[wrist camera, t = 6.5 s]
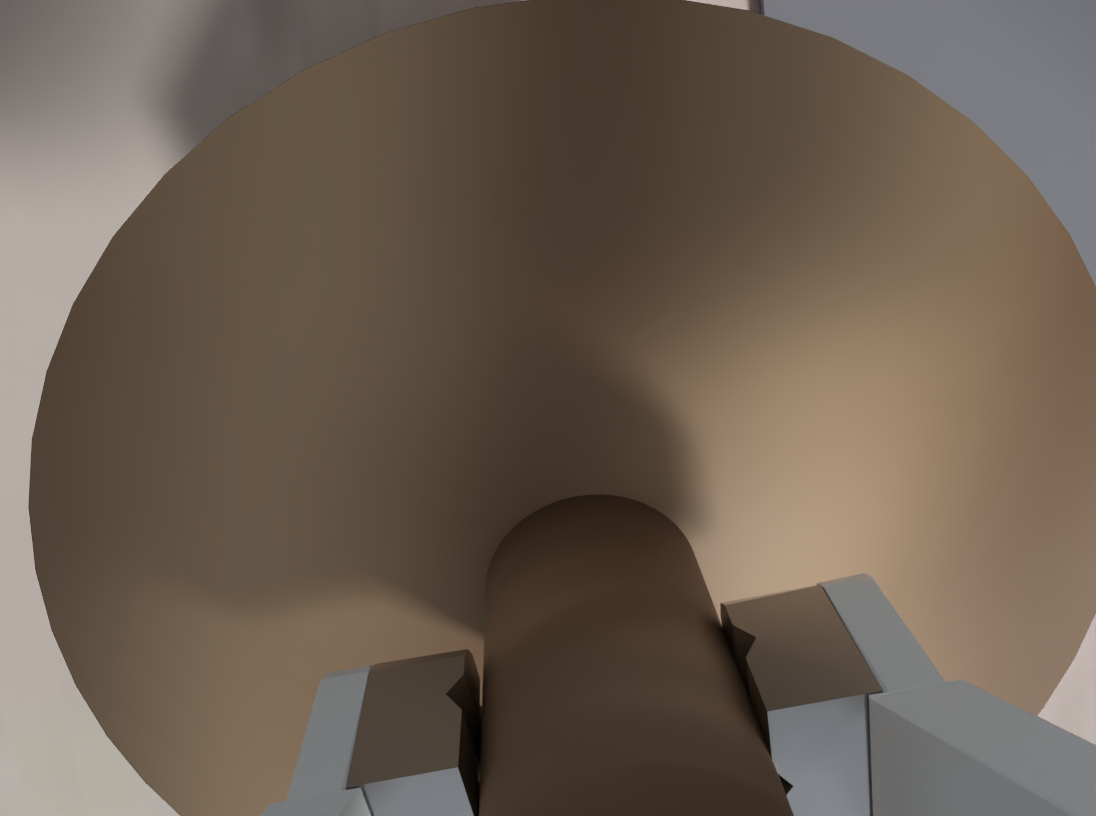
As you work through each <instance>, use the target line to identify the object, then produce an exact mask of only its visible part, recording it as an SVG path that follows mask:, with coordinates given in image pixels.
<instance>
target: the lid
mask: <svg viewBox="0 0 1096 816" xmlns="http://www.w3.org/2000/svg"><path fill="white" fill-rule="evenodd" d="M29 515H30V524H31V533H32V542H33V551H34V560H35V570H36V574H37V578H38V581H39V585H40V589H41V592H42V596H43V600H44V603H45V607H46V611H47V614H48V618H49V622H50V626H51V629H52V632H53V634H54V637H55V639H56V641H57V643H58V646H59V648H60V650H61V653H62V655H63V657H64V659H65V662H66V664H67V666H68V669H69V671H70V673H71V675H72V678H73V680H74V682H75V685H76V687H77V688H78V690H79V691H80V693H81V695H82V696H83V698H84V700H85V701H86V703H87V704H88V706H89V708H90V709H91V711H92V712H93V714H94V716H95V717H96V719H97V721H98V722H99V724H100V725H101V727H102V729H103V730H104V732H105V733H106V735H107V737H108V738H109V739H110V740H111V742H112V743H113V744H114V745H115V746H116V748H117V749H118V750H119V751H120V752H121V754H122V755H123V756H124V757H125V759H126V760H127V761H128V762H129V763H130V765H131V766H132V767H133V768H134V770H135V771H136V772H137V773H138V774H139V776H140V777H141V778H142V779H143V781H144V782H145V783H146V784H147V785H149V786H150V787H151V788H152V789H153V790H154V791H155V792H156V793H157V794H158V795H159V796H160V797H161V798H162V799H163V800H164V801H165V802H166V803H168V804H169V805H170V806H171V807H172V808H173V809H174V810H175V811H176V812H177V813H178V814H179V815H180V816H260V815H261V814H262V813H263V812H264V810H265V809H266V808H267V807H268V806H269V805H270V804H272V803H277V802H283V801H286V799H287V795H288V792H289V788H290V785H291V781H292V777H293V774H294V770H295V767H296V763H297V760H298V756H299V753H300V749H301V745H302V742H303V738H304V735H305V731H306V728H307V724H308V721H309V717H310V713H311V710H312V706H313V703H314V699H315V696H316V692H317V689H318V685H319V683H320V681H321V680H322V678H323V677H324V676H325V675H326V674H327V673H328V672H334V671H339V670H345V669H351V668H357V667H363V666H369V665H371V666H374V665H375V664H378V663H384V662H390V661H396V660H403V659H409V658H415V657H421V656H427V655H434V654H440V653H446V652H452V651H458V650H465V649H468V650H469V651H470V652H471V653H472V654H473V658H474V661H475V664H476V667H477V670H478V674H479V677H480V705H481V706H482V726H481V760H480V794H479V816H794V814H793V812H792V809H791V807H790V804H789V801H788V799H787V796H786V793H785V791H784V788H783V785H782V783H781V780H780V778H779V775H778V772H777V770H776V767H775V765H774V762H773V760H772V759H771V756H770V753H769V751H768V748H767V745H766V743H765V740H764V738H763V735H762V732H761V730H760V727H759V725H758V722H757V719H756V717H755V714H754V711H753V709H752V706H751V704H750V699H749V696H748V693H747V691H746V688H745V686H744V683H743V681H742V678H741V675H740V673H739V671H738V669H737V667H736V664H735V661H734V659H733V656H732V653H731V651H730V648H729V645H728V643H727V640H726V637H725V635H724V632H723V629H722V624H721V615H720V603H723V602H728V601H733V600H738V599H744V598H749V597H754V596H759V595H765V594H770V593H775V592H781V591H786V590H791V589H796V588H802V587H807V586H812V585H816V584H817V583H820V582H825V581H829V580H834V579H839V578H844V577H848V576H853V575H858V574H863V573H866V574H867V575H869V576H871V577H873V578H874V580H875V581H876V582H877V584H878V585H879V587H880V588H881V590H882V591H883V593H884V594H885V595H886V597H887V598H888V600H889V601H890V603H891V604H892V605H893V607H894V608H895V610H896V611H897V613H898V614H899V615H900V617H901V618H902V620H903V621H904V623H905V624H906V625H907V627H908V628H909V630H910V631H911V633H912V634H913V635H914V637H915V638H916V640H917V641H918V643H919V644H920V645H921V647H922V648H923V650H924V651H925V653H926V654H927V656H928V657H929V658H930V660H931V661H932V663H933V664H934V666H935V667H936V668H937V670H938V671H939V673H940V674H941V676H942V677H943V678H944V680H945V681H946V682H947V681H953V680H959V679H962V680H964V681H966V682H968V683H970V684H973V685H975V686H977V687H979V688H981V689H983V690H985V691H987V692H989V693H991V694H993V695H995V696H997V697H999V698H1001V699H1003V700H1005V701H1007V702H1009V703H1011V704H1013V705H1015V706H1017V707H1019V708H1021V709H1023V710H1026V711H1028V712H1030V713H1032V714H1034V715H1036V716H1037V715H1038V714H1039V713H1040V711H1041V710H1042V709H1043V707H1044V706H1045V704H1046V703H1047V701H1048V700H1049V698H1050V696H1051V695H1052V693H1053V692H1054V690H1055V688H1056V687H1057V685H1058V684H1059V682H1060V681H1061V679H1062V677H1063V676H1064V674H1065V673H1066V671H1067V669H1068V668H1069V666H1070V665H1071V663H1072V661H1073V660H1074V658H1075V656H1076V654H1077V652H1078V650H1079V648H1080V645H1081V643H1082V641H1083V639H1084V637H1085V635H1086V633H1087V631H1088V628H1089V626H1090V624H1091V622H1092V620H1093V618H1094V616H1095V614H1096V286H1095V284H1094V282H1093V280H1092V278H1091V276H1090V274H1089V272H1088V270H1087V268H1086V266H1085V264H1084V262H1083V260H1082V258H1081V256H1080V254H1079V251H1078V249H1077V247H1076V245H1075V243H1074V241H1073V239H1072V237H1071V235H1070V234H1069V232H1068V231H1067V230H1066V228H1065V227H1064V226H1063V224H1062V223H1061V221H1060V220H1059V219H1058V217H1057V216H1056V214H1055V213H1054V212H1053V210H1052V209H1051V207H1050V206H1049V205H1048V203H1047V202H1046V200H1045V199H1044V198H1043V196H1042V195H1041V194H1040V192H1039V191H1038V189H1037V188H1036V187H1035V185H1034V184H1033V182H1032V181H1031V180H1030V178H1029V177H1028V176H1027V175H1026V174H1025V173H1024V172H1023V171H1022V170H1021V169H1020V168H1019V167H1018V166H1017V165H1016V164H1015V163H1014V162H1013V161H1012V160H1011V159H1010V158H1009V157H1008V156H1007V155H1006V154H1005V153H1004V152H1003V151H1002V150H1001V149H1000V148H999V147H998V146H997V145H996V144H995V143H994V142H993V141H992V140H991V139H990V138H989V137H988V136H987V135H986V134H985V133H984V132H983V131H982V130H981V129H980V128H979V127H978V126H977V125H976V124H975V123H974V122H973V121H972V120H970V119H969V118H967V117H966V116H965V115H963V114H962V113H960V112H959V111H958V110H956V109H955V108H953V107H952V106H951V105H949V104H948V103H946V102H945V101H944V100H942V99H941V98H939V97H938V96H937V95H935V94H934V93H932V92H931V91H930V90H928V89H927V88H925V87H924V86H923V85H921V84H920V83H918V82H917V81H916V80H914V79H913V78H911V77H910V76H909V75H907V74H905V73H903V72H901V71H899V70H897V69H895V68H893V67H891V66H889V65H887V64H885V63H883V62H881V61H879V60H877V59H875V58H873V57H871V56H869V55H867V54H865V53H863V52H861V51H859V50H857V49H855V48H853V47H851V46H849V45H847V44H845V43H843V42H841V41H839V40H837V39H835V38H833V37H830V36H827V35H824V34H820V33H817V32H814V31H811V30H808V29H805V28H802V27H799V26H795V25H792V24H789V23H786V22H783V21H780V20H777V19H774V18H770V17H767V16H764V15H761V14H758V13H755V12H752V11H748V10H742V9H736V8H729V7H723V6H717V5H711V4H705V3H698V2H692V1H686V0H527V1H520V2H512V3H505V4H497V5H490V6H482V7H475V8H471V9H468V10H464V11H461V12H457V13H454V14H450V15H447V16H443V17H440V18H436V19H433V20H429V21H426V22H422V23H419V24H415V25H412V26H408V27H405V28H401V29H398V30H394V31H391V32H387V33H385V34H382V35H380V36H378V37H376V38H373V39H371V40H369V41H367V42H365V43H362V44H360V45H358V46H356V47H354V48H351V49H349V50H347V51H345V52H342V53H340V54H338V55H336V56H334V57H331V58H329V59H327V60H325V61H323V62H320V63H318V64H316V65H314V66H311V67H309V68H307V69H305V70H303V71H301V72H300V73H298V74H296V75H295V76H293V77H292V78H290V79H289V80H287V81H286V82H284V83H282V84H281V85H279V86H278V87H276V88H275V89H273V90H272V91H270V92H268V93H267V94H265V95H264V96H262V97H261V98H259V99H258V100H256V101H254V102H253V103H251V104H250V105H248V106H247V107H245V108H244V109H242V110H241V111H239V112H237V113H236V114H234V115H233V116H231V117H230V118H228V119H227V120H226V121H225V122H224V123H223V124H221V125H220V126H219V127H218V128H217V129H216V130H215V131H213V132H212V133H211V134H210V135H209V136H208V137H207V138H206V139H204V140H203V141H202V142H201V143H200V144H199V145H198V146H196V147H195V148H194V149H193V150H192V151H191V152H190V153H189V154H187V155H186V156H185V157H184V158H183V159H182V160H181V161H179V162H178V163H177V164H176V165H175V166H174V167H173V168H172V169H170V170H169V171H168V172H167V173H166V174H165V175H164V176H163V177H162V178H161V180H160V181H159V182H158V183H157V184H156V186H155V187H154V188H153V189H152V190H151V192H150V193H149V194H148V195H147V196H146V198H145V199H144V200H143V201H142V202H141V204H140V205H139V206H138V207H137V208H136V210H135V211H134V212H133V213H132V214H131V216H130V217H129V218H128V219H127V221H126V222H125V223H124V224H123V225H122V227H121V228H120V229H119V230H118V231H117V233H116V234H115V235H114V236H113V238H112V239H111V241H110V243H109V244H108V246H107V248H106V249H105V251H104V253H103V254H102V256H101V258H100V259H99V261H98V263H97V265H96V266H95V268H94V270H93V271H92V273H91V275H90V276H89V278H88V280H87V281H86V283H85V285H84V286H83V288H82V290H81V291H80V293H79V295H78V297H77V298H76V300H75V302H74V303H73V306H72V308H71V311H70V313H69V316H68V319H67V321H66V324H65V326H64V329H63V331H62V334H61V336H60V339H59V341H58V344H57V347H56V349H55V352H54V354H53V357H52V359H51V362H50V364H49V367H48V369H47V372H46V377H45V382H44V386H43V391H42V395H41V400H40V405H39V409H38V414H37V419H36V423H35V428H34V433H33V437H32V449H31V469H30V489H29Z"/></svg>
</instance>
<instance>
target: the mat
mask: <svg viewBox="0 0 1096 816" xmlns="http://www.w3.org/2000/svg"><path fill="white" fill-rule="evenodd" d="M760 5H761V15H764V16H767V17H770V18H774V19H777V20H780V21H783V22H786V23H789V24H792V25H795V26H799V27H802V28H805V29H808V30H811V31H814V32H817V33H820V34H824V35H827V36H830V37H833V38H835V39H837V40H839V41H841V42H843V43H845V44H847V45H849V46H851V47H853V48H855V49H857V50H859V51H861V52H863V53H865V54H867V55H869V56H871V57H873V58H875V59H877V60H879V61H881V62H883V63H885V64H887V65H889V66H891V67H893V68H895V69H897V70H899V71H901V72H903V73H905V74H907V75H909V76H910V77H911V78H913V79H914V80H916V81H917V82H918V83H920V84H921V85H923V86H924V87H925V88H927V89H928V90H930V91H931V92H932V93H934V94H935V95H937V96H938V97H939V98H941V99H942V100H944V101H945V102H946V103H948V104H949V105H951V106H952V107H953V108H955V109H956V110H958V111H959V112H960V113H962V114H963V115H965V116H966V117H967V118H969V119H970V120H972V121H973V122H974V123H975V124H976V125H977V126H978V127H979V128H980V129H981V130H982V131H983V132H984V133H985V134H986V135H987V136H988V137H989V138H990V139H991V140H992V141H993V142H994V143H995V144H996V145H997V146H998V147H999V148H1000V149H1001V150H1002V151H1003V152H1004V153H1005V154H1006V155H1007V156H1008V157H1009V158H1010V159H1011V160H1012V161H1013V162H1014V163H1015V164H1016V165H1017V166H1018V167H1019V168H1020V169H1021V170H1022V171H1023V172H1024V173H1025V174H1026V175H1027V176H1028V177H1029V178H1030V180H1031V181H1032V182H1033V184H1034V185H1035V187H1036V188H1037V189H1038V191H1039V192H1040V194H1041V195H1042V196H1043V198H1044V199H1045V200H1046V202H1047V203H1048V205H1049V206H1050V207H1051V209H1052V210H1053V212H1054V213H1055V214H1056V216H1057V217H1058V219H1059V220H1060V221H1061V223H1062V224H1063V226H1064V227H1065V228H1066V230H1067V231H1068V232H1069V234H1070V235H1071V237H1072V239H1073V241H1074V243H1075V245H1076V247H1077V249H1078V251H1079V254H1080V256H1081V258H1082V260H1083V262H1084V264H1085V266H1086V268H1087V270H1088V272H1089V274H1090V276H1091V278H1092V280H1093V282H1094V284H1095V286H1096V0H760Z"/></svg>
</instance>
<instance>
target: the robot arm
mask: <svg viewBox="0 0 1096 816" xmlns="http://www.w3.org/2000/svg"><path fill="white" fill-rule="evenodd" d="M720 615H721V624H722V629H723V632H724V635H725V637H726V640H727V643H728V645H729V648H730V651H731V653H732V656H733V659H734V661H735V664H736V667H737V669H738V671H739V673H740V675H741V678H742V681H743V683H744V686H745V688H746V691H747V693H748V696H749V699H750V704H751V706H752V709H753V711H754V714H755V717H756V719H757V722H758V725H759V727H760V730H761V732H762V735H763V738H764V740H765V743H766V745H767V748H768V751H769V753H770V756H771V759H772V760H773V762H774V765H775V767H776V770H777V772H778V775H779V778H780V780H781V783H782V785H783V788H784V791H785V793H786V796H787V799H788V801H789V804H790V807H791V809H792V812H793V814H794V816H1096V745H1095V744H1093V743H1091V742H1089V741H1087V740H1085V739H1083V738H1081V737H1079V736H1076V735H1074V734H1072V733H1070V732H1068V731H1066V730H1064V729H1062V728H1060V727H1058V726H1056V725H1054V724H1052V723H1050V722H1048V721H1046V720H1044V719H1042V718H1040V717H1038V716H1036V715H1034V714H1032V713H1030V712H1028V711H1026V710H1023V709H1021V708H1019V707H1017V706H1015V705H1013V704H1011V703H1009V702H1007V701H1005V700H1003V699H1001V698H999V697H997V696H995V695H993V694H991V693H989V692H987V691H985V690H983V689H981V688H979V687H977V686H975V685H973V684H970V683H968V682H966V681H964V680H962V679H959V680H953V681H947V682H946V681H945V680H944V678H943V677H942V676H941V674H940V673H939V671H938V670H937V668H936V667H935V666H934V664H933V663H932V661H931V660H930V658H929V657H928V656H927V654H926V653H925V651H924V650H923V648H922V647H921V645H920V644H919V643H918V641H917V640H916V638H915V637H914V635H913V634H912V633H911V631H910V630H909V628H908V627H907V625H906V624H905V623H904V621H903V620H902V618H901V617H900V615H899V614H898V613H897V611H896V610H895V608H894V607H893V605H892V604H891V603H890V601H889V600H888V598H887V597H886V595H885V594H884V593H883V591H882V590H881V588H880V587H879V585H878V584H877V582H876V581H875V580H874V578H873V577H871V576H869V575H867V574H866V573H863V574H858V575H853V576H848V577H844V578H839V579H834V580H829V581H825V582H820V583H817V584H816V585H812V586H807V587H802V588H796V589H791V590H786V591H781V592H775V593H770V594H765V595H759V596H754V597H749V598H744V599H738V600H733V601H728V602H723V603H720ZM481 726H482V706H481V705H480V677H479V674H478V670H477V667H476V664H475V661H474V658H473V654H472V653H471V652H470V651H469V650H468V649H465V650H458V651H452V652H446V653H440V654H434V655H427V656H421V657H415V658H409V659H403V660H396V661H390V662H384V663H378V664H375V665H374V666H371V665H369V666H363V667H357V668H351V669H345V670H339V671H334V672H328V673H327V674H326V675H325V676H324V677H323V678H322V680H321V681H320V683H319V685H318V689H317V692H316V696H315V699H314V703H313V706H312V710H311V713H310V717H309V721H308V724H307V728H306V731H305V735H304V738H303V742H302V745H301V749H300V753H299V756H298V760H297V763H296V767H295V770H294V774H293V777H292V781H291V785H290V788H289V792H288V795H287V799H286V801H283V802H277V803H272V804H270V805H269V806H268V807H267V808H266V809H265V810H264V812H263V813H262V814H261V815H260V816H479V794H480V760H481Z"/></svg>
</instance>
